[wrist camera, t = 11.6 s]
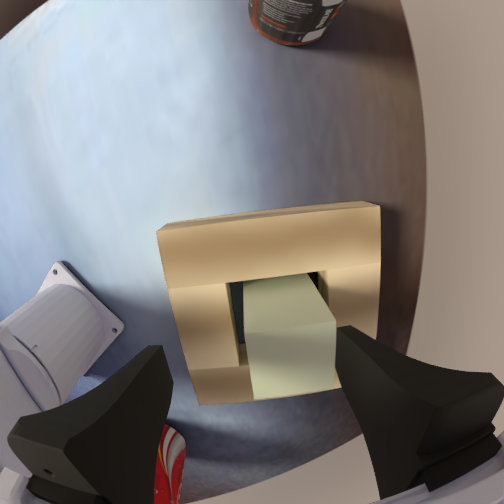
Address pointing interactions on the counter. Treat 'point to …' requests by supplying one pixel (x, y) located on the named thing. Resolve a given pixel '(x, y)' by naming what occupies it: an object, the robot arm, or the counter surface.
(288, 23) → the supplement bottle
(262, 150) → the counter surface
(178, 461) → the soda can
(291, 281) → the peg
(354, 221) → the well block
